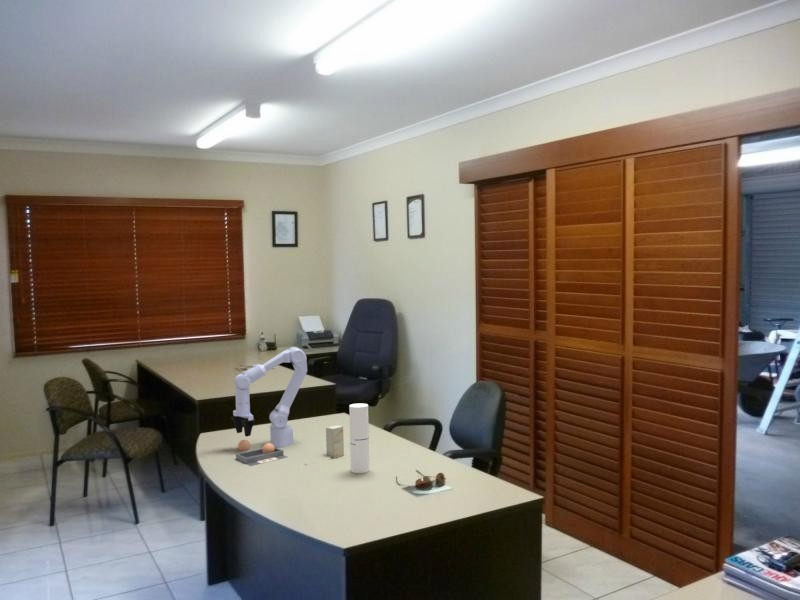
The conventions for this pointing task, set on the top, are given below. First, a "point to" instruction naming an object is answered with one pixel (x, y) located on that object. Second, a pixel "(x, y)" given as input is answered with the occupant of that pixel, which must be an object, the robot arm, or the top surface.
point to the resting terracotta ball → (268, 448)
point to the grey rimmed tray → (259, 456)
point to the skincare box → (335, 441)
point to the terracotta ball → (244, 445)
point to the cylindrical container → (359, 438)
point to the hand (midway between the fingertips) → (243, 434)
